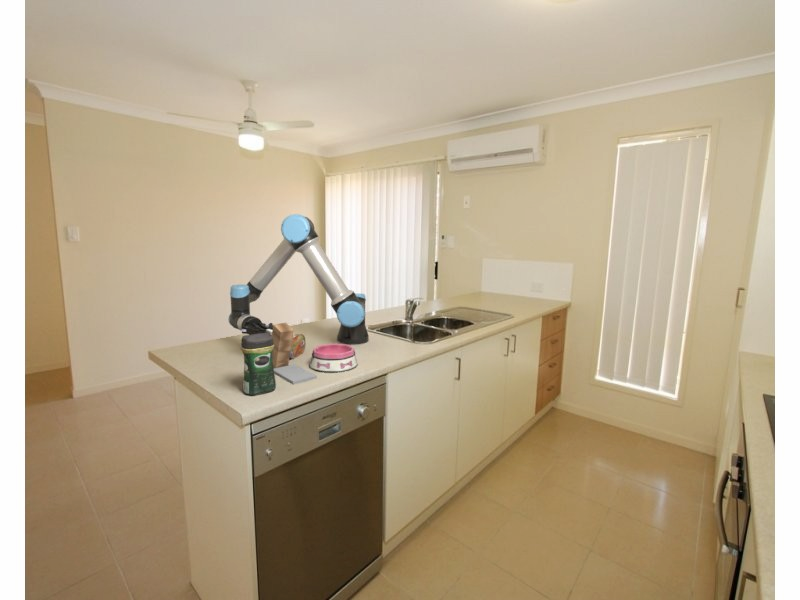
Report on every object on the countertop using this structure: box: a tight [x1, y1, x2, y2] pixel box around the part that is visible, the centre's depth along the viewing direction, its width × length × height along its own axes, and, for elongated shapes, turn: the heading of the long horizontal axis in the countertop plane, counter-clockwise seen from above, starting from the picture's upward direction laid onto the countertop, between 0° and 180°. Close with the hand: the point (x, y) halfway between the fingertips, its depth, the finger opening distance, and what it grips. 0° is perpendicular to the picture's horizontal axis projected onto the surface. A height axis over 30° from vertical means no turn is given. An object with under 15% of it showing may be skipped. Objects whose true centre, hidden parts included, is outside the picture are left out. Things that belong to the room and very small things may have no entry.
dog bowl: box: [308, 343, 359, 374], centre depth 148 cm, size 18×19×7 cm
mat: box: [273, 363, 318, 385], centre depth 136 cm, size 9×16×1 cm, turn 44°
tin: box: [289, 333, 306, 360], centre depth 158 cm, size 15×3×8 cm, turn 168°
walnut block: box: [272, 322, 294, 369], centre depth 141 cm, size 5×6×16 cm
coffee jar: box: [240, 333, 277, 396], centre depth 120 cm, size 10×8×19 cm
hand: (275, 335), depth 142 cm, fingers closed
